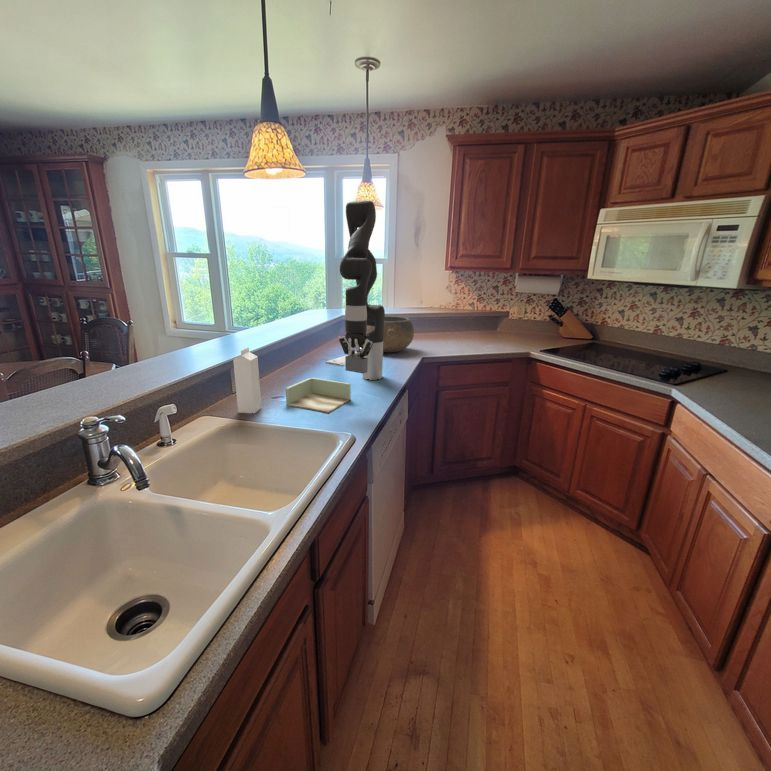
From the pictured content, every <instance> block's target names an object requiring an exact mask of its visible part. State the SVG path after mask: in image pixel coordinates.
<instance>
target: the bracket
mask: <svg viewBox="0 0 771 771" xmlns="http://www.w3.org/2000/svg"><path fill="white" fill-rule="evenodd" d="M344 356H345V365H344V366H345V367H344V368H345V371H347V372H350V373H351V372H353V373H357V374H358V373H359V374H362V375H363V374H364V373H366V372H367V365H368V358H364V357H358V356H357V353H356V352H355V354H352V355H349V356H346V355H344Z"/></svg>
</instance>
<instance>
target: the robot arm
mask: <svg viewBox="0 0 771 771" xmlns="http://www.w3.org/2000/svg"><path fill="white" fill-rule="evenodd" d="M376 212H377V211H376V206H375V203H374V202H373V201H372V200H356V201H355V200H353V201H348V202H347V203H346V205H345V217H346V224H347V229H348V233H349V241H348V247H347V251H346V253H345V254H344V256H343V258H342V259H341V261H340V265H339V274H340V275H341V277H342V278H343V279H344V280H349V281H351V280H353V281H355V284H356V285H355V286H349V287H347V288H346V290H345V308H344V309H345V310H344V324H345V325H344V326H345V327H344V328H345V329H344V331H345V336H343V337H340V338H339V339H338V341H339V343H340V346H341V348H342V350H343V353H344V355H348V356H349V355H352V354H355V353H356V352H357V356H358V357H364V358H368V365H367V372H366V373H364V374H363V373H362V378H363V379H364V380H367V379H369V381H378V380H377V379H379V380H382V379H383V368H384V367H383V366H384V364H383V363H384V362H383V361H384V358H383V357H384V352H383V335H384V320H385V315H386V314H385V313H386V312H385V308H384V306H383V305H380V304H369V302H368V298H369V294H370V291H371V290H372V288H373V286H374V284H375V283H376V281H377V278H378V271H377V260H376V258H375V257H374V255H373V253H372V252H371V250H370V249H369V247H370V246H369V245H370V241H371V236H372V234H373V231H374V228H375V225H376V220H377V213H376ZM367 326H375V329H374V331H372V332H370V333H366V332H367ZM381 378H382V379H381Z"/></svg>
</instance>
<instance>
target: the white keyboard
mask: <svg viewBox="0 0 771 771" xmlns="http://www.w3.org/2000/svg"><path fill="white" fill-rule="evenodd" d="M355 353H357V351H355ZM345 356H348V355H347V354H345V355H343V356H340V357H337V358H332V359H330V360H325V364H327V363H330V364H329V365H333V364H336V365H335V366H339V365H342V366H341V367H344V366H345V365H344V364H345ZM343 365H344V366H343Z"/></svg>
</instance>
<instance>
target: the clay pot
mask: <svg viewBox="0 0 771 771" xmlns="http://www.w3.org/2000/svg"><path fill="white" fill-rule="evenodd" d="M374 329H375V326H367V332H366V333H370V332H372V331H374ZM414 337H415V329H414V324H413V323H412V320H410V318H409V317H404V316H392V315H389V316H385V320H384V335H383V353H384V352H388V353H398V352H400V351H403V350H405V349H406V348H407V347H409V346H410V345H411V343H412V341H413V340H414Z"/></svg>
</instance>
